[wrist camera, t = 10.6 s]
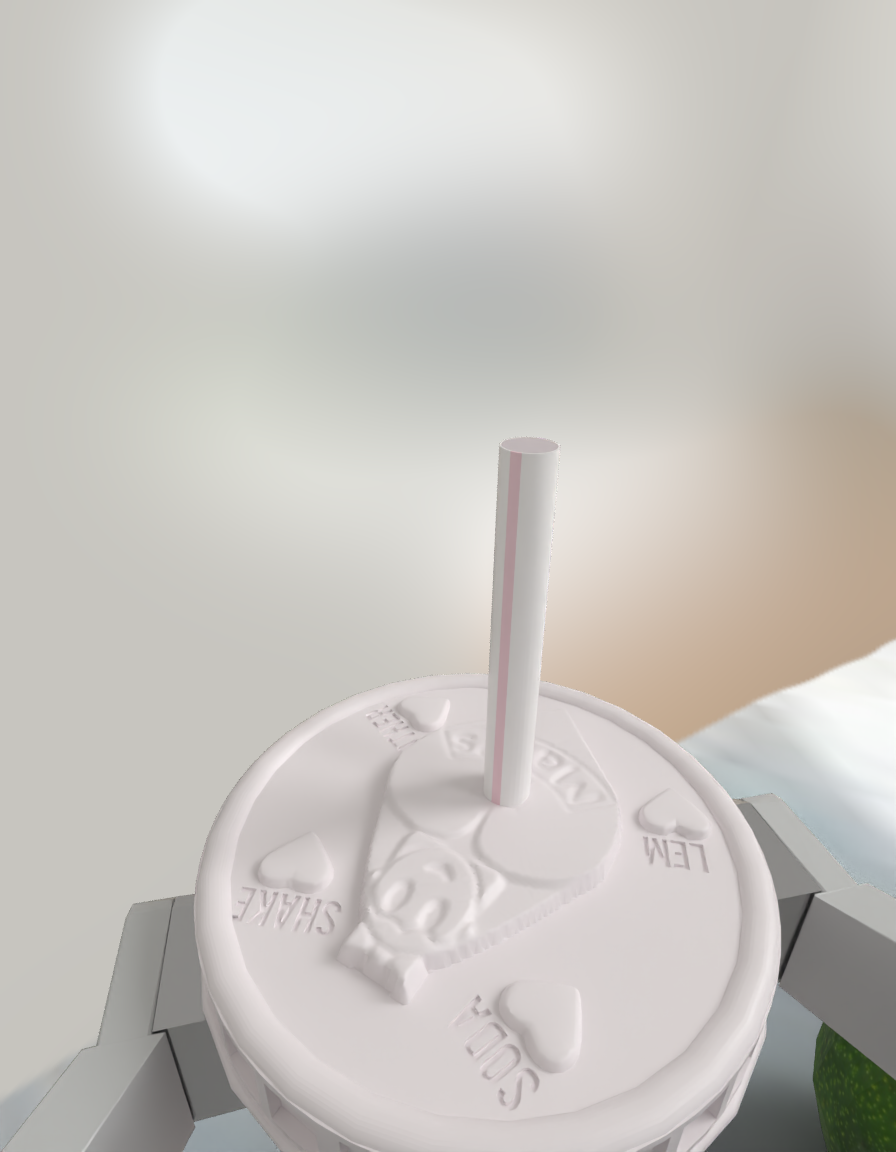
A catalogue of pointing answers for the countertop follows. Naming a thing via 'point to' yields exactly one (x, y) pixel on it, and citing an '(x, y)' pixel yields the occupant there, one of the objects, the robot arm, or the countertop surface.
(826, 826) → the countertop surface
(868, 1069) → the avocado
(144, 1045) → the robot arm
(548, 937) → the smoothie
